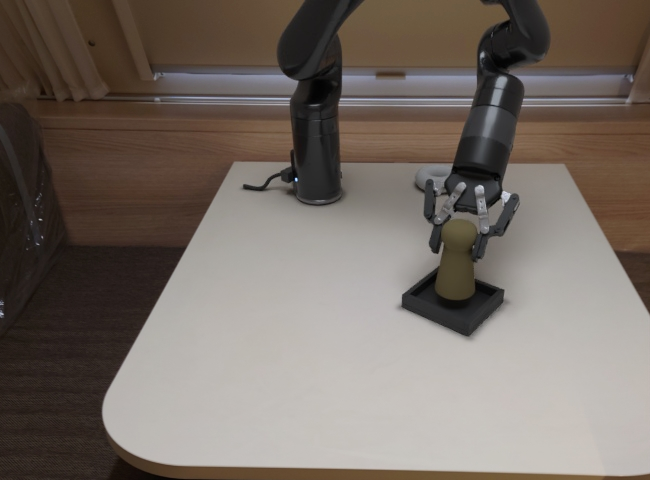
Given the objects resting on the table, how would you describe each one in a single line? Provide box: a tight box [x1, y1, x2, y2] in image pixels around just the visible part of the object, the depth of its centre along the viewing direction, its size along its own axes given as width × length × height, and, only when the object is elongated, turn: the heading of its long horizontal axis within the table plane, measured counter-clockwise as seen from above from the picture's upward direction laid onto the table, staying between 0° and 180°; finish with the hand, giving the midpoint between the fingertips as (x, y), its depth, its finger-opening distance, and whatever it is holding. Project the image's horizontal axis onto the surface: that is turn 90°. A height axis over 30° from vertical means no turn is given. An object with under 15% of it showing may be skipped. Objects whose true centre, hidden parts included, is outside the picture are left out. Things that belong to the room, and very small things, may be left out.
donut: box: [414, 163, 452, 194], centre depth 122 cm, size 10×4×10 cm
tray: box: [401, 265, 506, 337], centre depth 87 cm, size 12×11×2 cm
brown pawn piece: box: [435, 218, 479, 300], centre depth 83 cm, size 6×6×11 cm
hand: (454, 256), depth 81 cm, fingers closed on brown pawn piece, 5 cm apart
